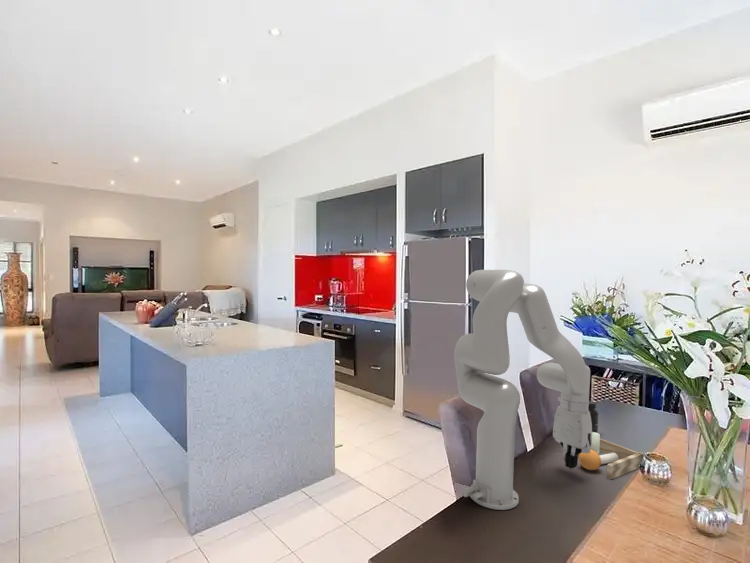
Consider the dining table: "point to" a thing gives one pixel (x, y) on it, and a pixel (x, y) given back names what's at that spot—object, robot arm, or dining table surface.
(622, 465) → the u-shaped wooden frame
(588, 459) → the ball
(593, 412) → the supplement bottle
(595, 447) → the back pin
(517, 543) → the dining table surface
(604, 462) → the front pin
